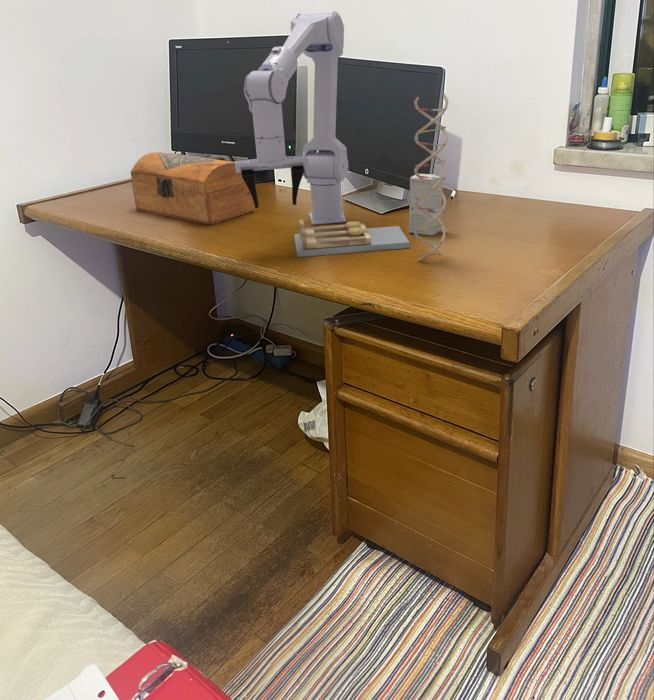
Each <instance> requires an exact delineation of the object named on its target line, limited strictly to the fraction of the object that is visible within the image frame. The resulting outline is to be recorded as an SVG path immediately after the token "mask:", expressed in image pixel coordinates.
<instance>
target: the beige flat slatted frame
mask: <svg viewBox="0 0 654 700" xmlns="http://www.w3.org/2000/svg"><path fill="white" fill-rule="evenodd" d="M360 228H363V234H360V237H352V235H350V234H349V232H348V228H346V224H340V225H339V224H337V225H335V224H334V225H324V226H311V227H305V223H304V219H303V218H299V234H300V235H301V240H302V245H303V249H311V248H324V247H336V246H348V245H360V244H371V237H370V235H369V233H368V231H367V227H366V225H365V223H364V222H363V223H361V222H360Z"/></svg>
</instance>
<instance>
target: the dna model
mask: <svg viewBox="0 0 654 700" xmlns="http://www.w3.org/2000/svg"><path fill="white" fill-rule="evenodd" d="M442 96H443V98H444V101H445V102H444V103H445V104H444V106H443V108H432V109H431V111H434V112H435V111H436V112H439V113H438V114H437V115H436V116H435V117H432V116H431V115H430V114H428V113H427V112H425V111H430V109H429V108H421V107H419V105H418V102H419V98H420V97H419V96H417V97H416V98H415V99H414V102H413V103H414V104H413V105H414V109H415V110H416V111H418V112H419V114H422V116H424V117H425V118H426V119H428V120H430V121H428V122H427V124H425V125H424V126H423V127H421V128H420V129H419V130H417V131H416V132H415V135H414V138H413V140H414V142H415V144H416V145H418V146H419V147H421V148H422V149H424V150H425V151H426V152H428V154H430V155H429V156H428V157H426V158H425V159H424V160H422V161H421V162H420V163H419V164H415V167H414V169H413V173H414V175H416V176H417V177H418V178H420V179H421V180H423V181H424V182H426V183H427V184H429V185H430V186H432V187H431V189H430V190H428V191H426V192H425V193H423V194H422V195H421V196H419V197H418V198H415V199H416V200H415V201H414V205H415V207H416V208H418V209H419V210H421V211H422V212H424V213H426V214H427V215H429V217H432V218H433V219H430V221H429V222H427V223H426V224H424V225H423V226H421V227H420V228H418V229H415V232H414V233H413V234H414V237H415V238H416V239H418V240H420V241H422V243H425V244H426V245H428V246H429V247H430V248H432V249H430V251H428V252H426V253H425V254H423V255H421V256H420V257H419V258H418V257H417V259H416V260H417V261H418V262H419V261H421V260H423V259H425V258H426V257H429V256H430V255H431V254H433V253H434V252H436V253H438V254H439V255H442V253H443V252H441V251H440V250H439V248H440V247H441V246H442V244H443V243H444V241H445V238H446V228H445V225H444V223H442V221H441V222H440V220H439V219H438V218H439V217H440V215H441V216H442V214H443V213H444V212H445V210H446V207H447V199H446V196H445V193H444V192H443V190H442V191H441V190H440V189H439V188H437V187H438V186H439V185H440V184H441V183H442V182H443V183H444V181H445V180H446V176H447V172H448V169H447V166H446V163H445V162H446V161H447V160H446V159H442V158H441V157H440V156H439V155H438V154H439V153H441V151H443V149H444V148H445V146H446V145H447V142H448V133H447V131H446V128H447V126H444V125H442V124H441V123H440V122H439V121H438V120H439V119H440V118H441V117H443V115H444V114H445V112H446V111H447V109H448V106H449V99H448V96H447V95H446V93H444V94H443V95H442ZM433 124H435V125H436V126H437V127H438V128H435V129H428V130H427V128H429V127H430V126H431V125H433ZM440 130H441V131H442V133H443V136H444V139H443V143H442V144H441V143H440V144H438V143H429V142H420V141H419V134H424V133H428V132H436V131H440ZM429 145H430V146H435V147H439V148H437V149H436V150H435V151H434V150H430V149H429V148H428V147H427V146H429ZM433 158H435V159H436V160H438V161H437V162H432V163H431V165H432V166H433V165H438V164H441V165H442V166H443V173H442V176H443V177H442V178H436V177H432V178H431V179H439V180H440V181H439V182H438V183H437V184H435V185H434V184H433V183H431V182H430V181H428V180H427V179H425V178H429V177H426V176H420V175H419V174H420V173H419V172H418V171H419V170H420V168H422V167H427V166H430V165H429V163H427V162H429V161H430V160H432V159H433ZM426 163H427V164H426ZM434 189H435V190H436V191H437V192H438V193H439V194H435V195H431V196H426V197H424V196H425V195H427V194H428V193H430V192H431V191H433V190H434ZM438 195H441V197H442V202H443V204H442V207H441V210H435V209H431V210H432V211H437V212H439V213H438V214H437V215H436V216H434V215H433V214H431V213H429V212H428V211H426V210H428V208H421V207H420V206H419V205H418V204H417V202H418V201H419V200H420V199H424V198H428V197H433V196H438ZM424 209H426V210H424ZM435 220H436V221H437V222H438V223H439V225H438V226H434V227H430V228H425V227H426V226H428V225H430V224H431V223H433V222H434V221H435ZM436 227H441V231H442V236H441V239H440V241H436V240H435V241H434V240H431V239H427V238H423V237H421V235H420V234H417V233H418V231H422V230H427V229H431V228H436ZM423 228H425V229H423ZM433 243H434V244H433ZM435 244H436V245H435Z"/></svg>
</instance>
